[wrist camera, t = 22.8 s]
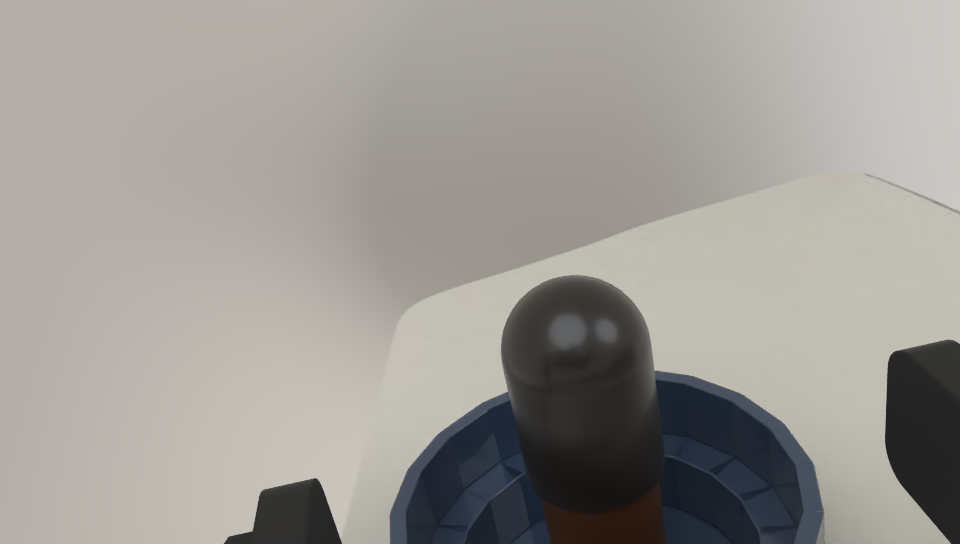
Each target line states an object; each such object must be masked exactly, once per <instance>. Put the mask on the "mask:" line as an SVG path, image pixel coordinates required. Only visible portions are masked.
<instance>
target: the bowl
mask: <svg viewBox="0 0 960 544" xmlns="http://www.w3.org/2000/svg"><path fill="white" fill-rule="evenodd" d="M655 379H656V387H657V395H658V403H659V411H660V420H661V428H662V436H663V444H664V452H665V467H664V471H663V474H662V476H661V478H660V480H659V486H660V493H661V501H662V509H663V516H664V524H665V532H666V539H667V544H825V543H824V510H823V505H822V501H821V496H820V491H819V486H818V481H817V477H816V472H815V467H814V465H813V462H812V461H811V460H810V458H809V457H808V455H807V454H806V453H805V451H804V450H803V449H802V447H801V446H800V445H799V443H798V442H797V440H796V439H795V438H794V436H793V435H792V434H791V432H790V431H789V429H788V428H787V427H786V425H785V424H783V422H781V421H780V420H779V419H777V418H776V417H774V416H773V415H771V414H770V413H768V412H767V411H766V410H764V409H763V408H761V407H760V406H758V405H757V404H755V403H754V402H752V401H751V400H750V399H748V398H747V397H745V396H744V395H742V394H740V393H738V392H735V391H732V390H730V389H727V388H724V387H721V386H719V385H716V384H713V383H710V382H707V381H705V380H702V379H699V378H696V377H694V376H689V375H683V374H675V373H668V372H661V371H655ZM390 544H550V540H549V535H548V530H547V526H546V521H545V516H544V512H543V507H542V502H541V498H540V497H539V496H538V495H537V494H536V493H535V492H534V490H533V489H532V488H531V486H530V484H529V482H528V479H527V475H526V471H525V466H524V462H523V457H522V452H521V448H520V443H519V439H518V434H517V430H516V425H515V420H514V416H513V411H512V407H511V402H510V398H509V393H508V392H506V393H504V394H502V395H499V396H497V397H495V398H492V399H490V400H488V401H485V402H483V403H481V404H480V405H478V406H477V407H475V408H474V409H473V410H471V411H470V412H468V413H467V414H465V415H464V416H463V417H461V418H460V419H458V420H457V421H456V422H454V423H453V424H451V425H450V426H448V427H447V428H446V429H444V430H443V431H441V432H440V433H439V434H438V435H437V436H436V437H435V438H434V439H433V441H432V442H431V443H430V444H429V445H428V446H427V448H426V449H425V450H424V451H423V452H422V453H421V455H420V456H419V457H418V458H417V459H416V460H415V462H414V463H413V464H412V465H411V466H410V468H409V469H408V471H407V473H406V475H405V478H404V480H403V482H402V485H401V487H400V490H399V492H398V495H397V497H396V500H395V502H394V505H393V507H392V510H391V512H390Z"/></svg>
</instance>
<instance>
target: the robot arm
mask: <svg viewBox="0 0 960 544" xmlns="http://www.w3.org/2000/svg"><path fill="white" fill-rule="evenodd" d="M885 444H886V451H887V455H888V459H889V462H890V465H891V467H892V469H893V472H894V474H895V475H896V477H897V479H898V481H899V482H900V484H901V485H902V486H903V487H904V489H905V490H906V491H907V492H908V493H909V495H910V496H911V497H912V498H913V499H914V500H915V502H916V503H917V504H918V505H919V506H920V507H921V509H922V510H923V511H924V512H925V513H926V515H927V516H928V517H929V518H930V519H931V520H932V522H933V523H934V524H935V525H936V526H937V527H938V529H939V530H940V531H941V532H942V533H943V535H944V536H945V537H946V538H947V539H948V540H949V542H950V543H951V544H960V344H959V343H957V342H955V341H953V340H944V341H939V342H935V343H930V344H926V345H921V346H917V347H912V348H908V349H903V350H899V351H895V352H893V353H892V355H891V356H890V358H889V362H888V374H887V401H886V429H885ZM224 544H342V542H341V540H340V537H339V534H338V531H337V528H336V525H335V522H334V520H333V517H332V514H331V511H330V508H329V505H328V502H327V500H326V496H325V494H324V491H323V488H322V486H321V484H320V482H319V481H318V479H316V478H314V479H310V480H305V481H301V482H297V483H292V484H287V485H283V486H279V487H274V488H269V489H265V490H263V491H262V492H261V494H260V496H259V501H258V507H257V512H256V517H255V522H254V528H253V531H252V532H248V533H243V534H239V535H234V536H230V537H228V539H227V540H226V542H225V543H224Z"/></svg>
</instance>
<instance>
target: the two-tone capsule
mask: <svg viewBox="0 0 960 544" xmlns="http://www.w3.org/2000/svg"><path fill="white" fill-rule="evenodd" d="M501 358H502V365H503V370H504V375H505V379H506V384H507V389H508V393H509V398H510V402H511V407H512V411H513V416H514V420H515V425H516V430H517V434H518V439H519V443H520V448H521V452H522V457H523V462H524V466H525V471H526V475H527V479H528V482H529V484H530V486H531V488H532V489H533V490H534V492H535V493H536V494H537V495H538V496H539V497H540V498H541V502H542V507H543V512H544V516H545V521H546V526H547V530H548V535H549V540H550V544H667V539H666V532H665V524H664V516H663V509H662V501H661V493H660V486H659V480H660V478H661V476H662V474H663V471H664V467H665V452H664V444H663V436H662V428H661V420H660V411H659V403H658V395H657V387H656V379H655V371H654V363H653V355H652V347H651V340H650V335H649V330H648V328H647V325H646V322H645V320H644V318H643V316H642V314H641V312H640V311H639V309H638V308H637V306H636V305H635V304H634V303H633V301H632V300H631V299H630V298H629V297H628V296H627V295H625V294H624V293H623V292H622V291H621V290H619V289H618V288H616V287H615V286H613V285H612V284H609V283H607V282H605V281H603V280H600V279H597V278H593V277H588V276H580V275H571V276H563V277H558V278H554V279H551V280H548V281H546V282H543V283H541V284H540V285H538V286H536V287H535V288H533V289H532V290H530V291H529V292H528V293H527V294H526V295H525V296H523V297H522V298H521V299H520V300H519V302H518V303H517V304H516V306H515V307H514V308H513V310H512V311H511V313H510V315H509V317H508V319H507V321H506V324H505V327H504V330H503V335H502V341H501Z"/></svg>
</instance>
